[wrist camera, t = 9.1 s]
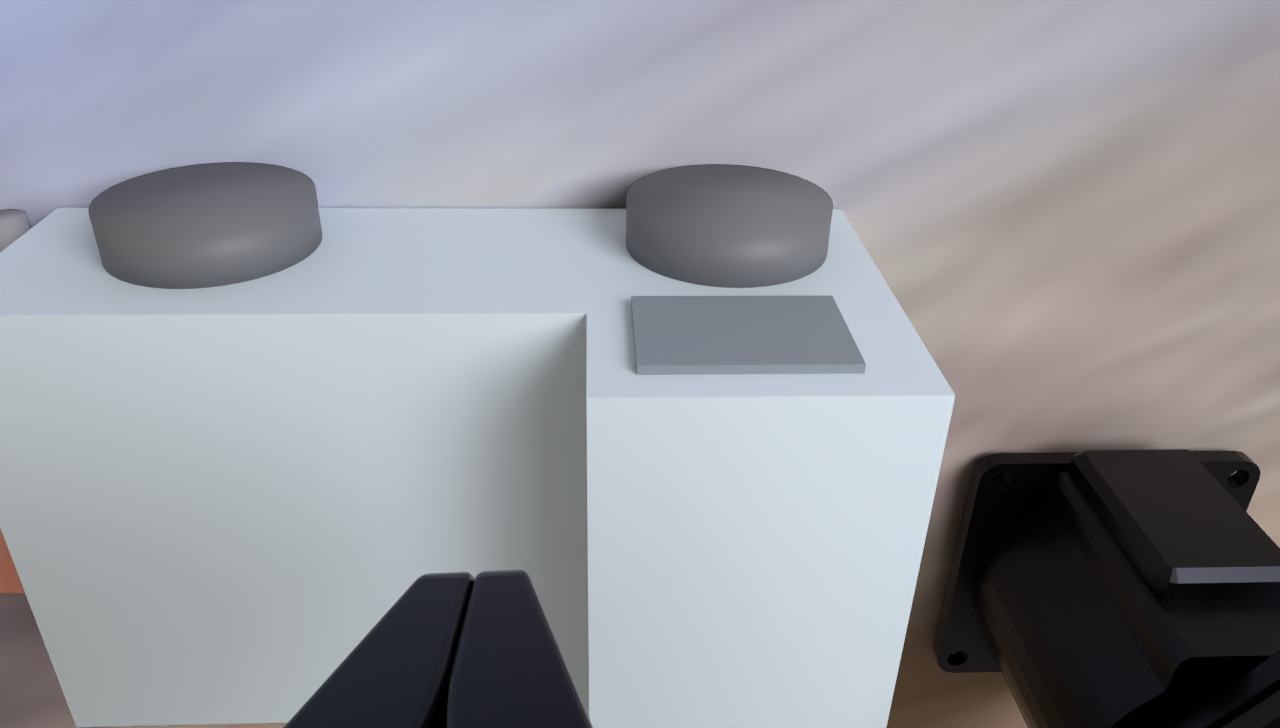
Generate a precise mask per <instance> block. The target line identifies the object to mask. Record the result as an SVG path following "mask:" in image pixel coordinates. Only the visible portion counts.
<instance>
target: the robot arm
mask: <svg viewBox="0 0 1280 728" xmlns="http://www.w3.org/2000/svg"><path fill="white" fill-rule="evenodd" d="M1235 471H1237V472H1236V474H1234V475H1232V476H1231V477H1229V476H1230V474H1232V473H1234V472H1235ZM999 473H1004V475H1003V476H1002V477H1001V478H999V479H998V480H993V481H991V479H992V477H993V476H995V475H996V474H999ZM1259 477H1260V470H1259V467H1258V466H1257V465H1256V464H1255V463H1254V462H1253V461H1252V460H1251V459H1250V458H1249V457H1248V456H1247V455H1246V454H1244V453H1243V452H1238V451H1188V450H1104V451H1083V452H1080V453H999V454H993V455H989V456H987V457H985V458H983V459H982V460H981V461H980V462H979V463H978V464H977V465H976V466H975V469H974V471H973V474H972V478H971V483H970V487H969V492H968V496H967V500H966V505H965V509H964V514H963V518H962V522H961V527H960V531H959V536H958V540H957V544H956V549H955V553H954V557H953V562H952V566H951V571H950V575H949V579H948V584H947V588H946V593H945V597H944V601H943V606H942V610H941V615H940V619H939V623H938V628H937V632H936V637H935V641H934V645H933V653H934V655H935V658H936V660H937V663H938V665H939V666H940V668H941V669H942V670H944V671H946V672H953V673H962V672H1002V673H1003V675H1004V678H1005V680H1006V682H1007V684H1008V686H1009V688H1010V690H1011V692H1012V695H1013V697H1014V699H1015V701H1016V703H1017V705H1018V707H1019V709H1020V712H1021V714H1022V716H1023V718H1024V720H1025V722H1026V724H1027V726H1028V728H1280V548H1279V547H1278V546H1277V545H1276V544H1275V543H1274V542H1273V541H1272V540H1271V539H1270V537H1269V536H1268V535H1267V534H1266V533H1265V532H1264V531H1263V530H1262V529H1261V528H1260V527H1259V525H1258V524H1257V523H1256V522H1255V521H1254V520H1253V519H1252V518H1251V517H1250V516H1249V515H1248V513H1247V512H1246V510H1247V508H1248V506H1249V503H1250V501H1251V498H1252V496H1253V493H1254V491H1255V488H1256V486H1257V483H1258V481H1259ZM957 651H958V652H957ZM953 652H957V653H953ZM952 653H953V654H952ZM283 728H593V726H592V724H591V722H590V719H589V717H588V714H587V712H586V710H585V707H584V705H583V702H582V700H581V698H580V695H579V693H578V690H577V688H576V686H575V683H574V681H573V678H572V676H571V674H570V671H569V669H568V666H567V664H566V662H565V659H564V657H563V654H562V652H561V650H560V647H559V645H558V642H557V640H556V638H555V635H554V633H553V630H552V628H551V626H550V623H549V621H548V618H547V616H546V614H545V611H544V609H543V606H542V604H541V602H540V599H539V597H538V594H537V592H536V590H535V587H534V585H533V582H532V580H531V578H530V576H529V574H528V573H527V572H525V571H524V570H499V571H483V572H480V573H479V574H477V575H476V577H475V578H474V577H473V576H472V575H471V574H470V573H468V572H449V573H428V574H424V575H422V576H420V577H419V578H417V579H416V580H415V581H414V582H413V584H412V585H411V586H410V587H409V588H408V589H407V590H406V591H405V592H404V594H403V595H402V596H401V597H400V598H399V599H398V600H397V601H396V603H395V604H394V605H393V606H392V607H391V608H390V609H389V610H388V611H387V613H386V614H385V615H384V616H383V617H382V618H381V619H380V620H379V621H378V623H377V624H376V625H375V626H374V627H373V628H372V629H371V630H370V631H369V633H368V634H367V635H366V636H365V637H364V638H363V639H362V640H361V642H360V643H359V644H358V645H357V646H356V647H355V648H354V649H353V650H352V652H351V653H350V654H349V655H348V656H347V657H346V658H345V659H344V660H343V662H342V663H341V664H340V665H339V666H338V667H337V668H336V669H335V670H334V672H333V673H332V674H331V675H330V676H329V677H328V678H327V679H326V681H325V682H324V683H323V684H322V685H321V686H320V687H319V688H318V689H317V691H316V692H315V693H314V694H313V695H312V696H311V697H310V698H309V699H308V701H307V702H306V703H305V704H304V705H303V706H302V707H301V708H300V709H299V711H298V712H297V713H296V714H295V715H294V716H293V717H292V718H291V720H290V721H289V722H288V723H287V724H286V725H285V726H284V727H283Z"/></svg>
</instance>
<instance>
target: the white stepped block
mask: <svg viewBox="0 0 1280 728" xmlns="http://www.w3.org/2000/svg"><path fill="white" fill-rule="evenodd" d="M954 399H955V394H954V392H953V391H952V389H951V388H950V386H949V384H948V383H947V381H946V379H945V378H944V376H943V374H942V373H941V371H940V370H939V368H938V366H937V365H936V363H935V361H934V360H933V358H932V356H931V355H930V353H929V352H928V350H927V348H926V347H925V345H924V343H923V342H922V340H921V339H920V337H919V335H918V334H917V332H916V330H915V329H914V327H913V325H912V324H911V322H910V321H909V319H908V317H907V316H906V314H905V312H904V311H903V309H902V307H901V306H900V304H899V303H898V301H897V299H896V298H895V296H894V294H893V293H892V291H891V289H890V288H889V286H888V285H887V283H886V281H885V280H884V278H883V276H882V275H881V273H880V272H879V270H878V268H877V267H876V265H875V263H874V262H873V260H872V258H871V257H870V255H869V254H868V252H867V250H866V249H865V247H864V245H863V244H862V242H861V240H860V239H859V237H858V236H857V234H856V232H855V231H854V229H853V227H852V226H851V224H850V223H849V221H848V219H847V218H846V216H845V214H844V213H843V211H842V209H833V202H832V199H831V197H830V196H829V195H828V194H827V193H826V192H825V191H824V190H823V189H822V188H820V187H819V186H817V185H816V184H814V183H812V182H810V181H808V180H805V179H803V178H800V177H797V176H794V175H791V174H788V173H784V172H780V171H776V170H771V169H765V168H759V167H752V166H743V165H724V164H707V165H691V166H682V167H676V168H670V169H666V170H662V171H658V172H655V173H652V174H649V175H647V176H644V177H643V178H641V179H639V180H637V181H636V182H635V183H633V184H632V185H631V186H630V188H629V189H628V191H627V204H626V209H531V208H318V202H317V195H316V189H315V185H314V182H313V181H312V180H311V178H309V177H308V176H307V175H305V174H303V173H301V172H299V171H296V170H293V169H290V168H286V167H282V166H277V165H271V164H262V163H245V162H225V163H208V164H198V165H190V166H183V167H177V168H171V169H166V170H161V171H157V172H153V173H149V174H145V175H142V176H138V177H135V178H132V179H129V180H127V181H124V182H121V183H119V184H117V185H115V186H112V187H111V188H109V189H107V190H105V191H104V192H102V193H101V194H99V195H98V196H97V197H96V198H95V199H94V200H93V201H92V202H91V204H90V205H89V208H57V209H56V210H54V211H53V212H52V213H50V214H49V215H48V216H47V217H45V218H44V219H43V220H41V221H40V222H39V223H38V224H36V225H35V226H34V227H32V228H31V229H30V230H29V231H27V232H26V233H25V234H23V235H22V236H21V237H20V238H18V239H17V240H16V241H14V242H13V243H12V244H11V245H9V246H8V247H7V248H5V249H4V250H3V251H2V252H0V528H1V531H2V533H3V536H4V539H5V541H6V544H7V546H8V549H9V552H10V554H11V557H12V560H13V562H14V565H15V567H16V570H17V573H18V575H19V578H20V581H21V583H22V586H23V588H24V591H25V594H26V596H27V599H28V602H29V604H30V607H31V610H32V612H33V615H34V617H35V620H36V623H37V625H38V628H39V631H40V633H41V636H42V638H43V641H44V644H45V646H46V649H47V652H48V654H49V657H50V659H51V662H52V665H53V667H54V670H55V673H56V675H57V678H58V680H59V683H60V686H61V688H62V691H63V694H64V696H65V699H66V702H67V704H68V707H69V709H70V712H71V715H72V717H73V720H74V723H75V725H76V727H112V726H156V725H199V724H243V723H286V722H289V721H290V720H291V718H292V717H293V716H294V715H295V714H296V713H297V712H298V711H299V709H300V708H301V707H302V706H303V705H304V704H305V703H306V702H307V701H308V699H309V698H310V697H311V696H312V695H313V694H314V693H315V692H316V691H317V689H318V688H319V687H320V686H321V685H322V684H323V683H324V682H325V681H326V679H327V678H328V677H329V676H330V675H331V674H332V673H333V672H334V670H335V669H336V668H337V667H338V666H339V665H340V664H341V663H342V662H343V660H344V659H345V658H346V657H347V656H348V655H349V654H350V653H351V652H352V650H353V649H354V648H355V647H356V646H357V645H358V644H359V643H360V642H361V640H362V639H363V638H364V637H365V636H366V635H367V634H368V633H369V631H370V630H371V629H372V628H373V627H374V626H375V625H376V624H377V623H378V621H379V620H380V619H381V618H382V617H383V616H384V615H385V614H386V613H387V611H388V610H389V609H390V608H391V607H392V606H393V605H394V604H395V603H396V601H397V600H398V599H399V598H400V597H401V596H402V595H403V594H404V592H405V591H406V590H407V589H408V588H409V587H410V586H411V585H412V584H413V582H414V581H415V580H416V579H417V578H419V577H420V576H422V575H424V574H428V573H449V572H468V573H470V574H471V575H472V576H473V577H474V578H475V577H476V575H477V574H479V573H480V572H483V571H499V570H524V571H525V572H527V573H528V574H529V576H530V578H531V580H532V582H533V585H534V587H535V590H536V592H537V594H538V597H539V599H540V602H541V604H542V606H543V609H544V611H545V614H546V616H547V618H548V621H549V623H550V626H551V628H552V630H553V633H554V635H555V638H556V640H557V642H558V645H559V647H560V650H561V652H562V654H563V657H564V659H565V662H566V664H567V666H568V669H569V671H570V674H571V676H572V678H573V681H574V683H575V686H576V688H577V690H578V693H579V695H580V698H581V700H582V702H583V705H584V707H585V710H586V712H587V714H588V716H589V719H590V722H591V724H592V726H593V728H886V727H887V722H888V718H889V713H890V708H891V703H892V698H893V694H894V689H895V684H896V679H897V674H898V669H899V665H900V660H901V655H902V650H903V645H904V640H905V636H906V631H907V626H908V621H909V616H910V611H911V607H912V602H913V597H914V592H915V587H916V582H917V578H918V573H919V568H920V563H921V558H922V554H923V549H924V544H925V539H926V534H927V529H928V525H929V520H930V515H931V510H932V505H933V500H934V496H935V491H936V486H937V481H938V476H939V471H940V467H941V462H942V457H943V452H944V447H945V442H946V438H947V433H948V428H949V423H950V418H951V413H952V409H953V404H954Z"/></svg>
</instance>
